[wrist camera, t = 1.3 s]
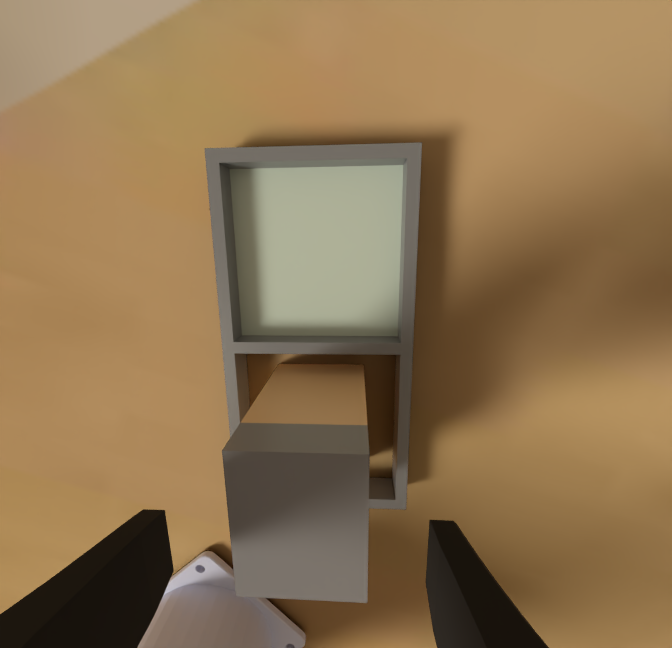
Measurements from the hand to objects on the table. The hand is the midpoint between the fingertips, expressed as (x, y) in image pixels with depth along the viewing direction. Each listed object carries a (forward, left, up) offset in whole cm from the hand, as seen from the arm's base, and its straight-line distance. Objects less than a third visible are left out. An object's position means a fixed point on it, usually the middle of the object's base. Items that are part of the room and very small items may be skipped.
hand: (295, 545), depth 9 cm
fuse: (0, 0, -8) cm, 8 cm away
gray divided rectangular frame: (+2, +3, -8) cm, 8 cm away
